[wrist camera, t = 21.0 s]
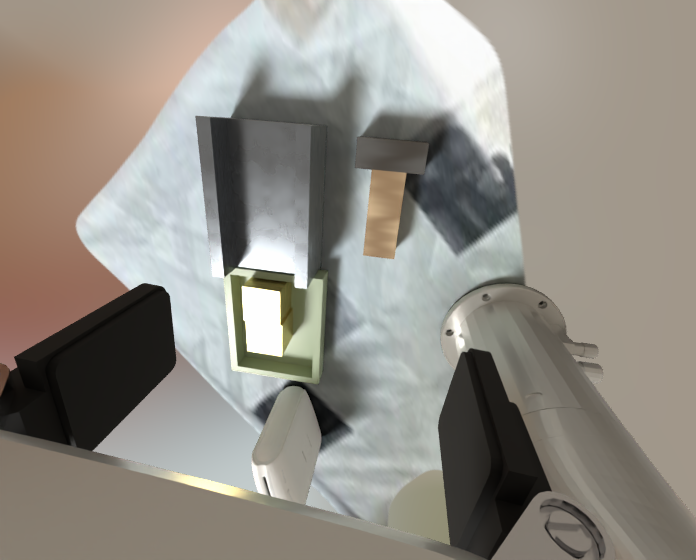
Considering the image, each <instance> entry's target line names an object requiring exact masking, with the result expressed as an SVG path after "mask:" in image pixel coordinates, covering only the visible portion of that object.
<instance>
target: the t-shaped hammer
mask: <svg viewBox="0 0 696 560" xmlns="http://www.w3.org/2000/svg"><path fill="white" fill-rule="evenodd" d="M428 147H429V143H428V142H421V141H410V140H398V139H387V138H375V137H364V136H360V137H357V149H356V161H355V168H361V169H371V170H372V174H371V184H370V194H369V204H368V213H367V223H366V233H365V243H364V253H363V255H365V256H373V257H381V258H389V259H394V257H395V250H396V243H397V236H398V229H399V222H400V215H401V208H402V201H403V194H404V187H405V180H406V173H412V174H422V175H424V172H425V166H426V160H427V153H428Z"/></svg>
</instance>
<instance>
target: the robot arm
mask: <svg viewBox="0 0 696 560" xmlns="http://www.w3.org/2000/svg"><path fill="white" fill-rule="evenodd" d="M484 294H486V295H485V296H483V295H484ZM539 302H540V303H539ZM449 329H450V330H449ZM440 339H441V346H442V350H443V353H444V356H445V358H446V360H447V361H448V363H449V364H450V365H451V367H452V368H453V369H454V370H455V372H454V375H453V378H452V381H451V384H450V387H449V390H448V393H447V396H446V399H445V402H444V405H443V408H442V411H441V414H440V418H439V424H438V431H439V440H440V450H441V460H442V469H443V479H444V489H445V498H446V507H447V518H448V527H449V537H450V545H451V546H450V545H447V544H444V543H441V542H438V541H435V540H432V539H429V538H426V537H422V536H418V535H415V534H411V533H408V532H404V531H400V530H397V529H393V528H390V527H386V526H382V525H379V524H375V523H372V522H368V521H364V520H361V519H357V518H353V517H349V516H346V515H342V514H338V513H334V512H330V511H326V510H322V509H318V508H315V507H311V506H307V505H303V504H299V503H295V502H291V501H288V500H284V499H280V498H276V497H272V496H268V495H264V494H260V493H257V492H253V491H248V490H245V489H241V488H237V487H233V486H229V485H225V484H221V483H217V482H213V481H209V480H205V479H201V478H197V477H193V476H189V475H185V474H181V473H177V472H174V471H169V470H166V469H162V468H158V467H153V466H150V465H145V464H142V463H138V462H134V461H130V460H125V459H121V458H117V457H113V456H109V455H105V454H101V453H97V452H93V450H94V449H95V448H96V447H97V446H98V444H100V442H102V441H103V440H104V438H106V436H108V435H109V434H110V432H111V431H112V430H113V429H114V428H115V427H116V426H117V425H118V424H119V423H120V422H121V421H122V420H123V419H124V418H125V417H126V416H127V415H128V414H129V413H130V412H131V411H132V410H133V409H134V408H135V407H136V406H137V405H138V404H139V403H140V402H141V401H142V400H143V399H144V398H145V397H146V396H147V395H148V394H149V393H150V392H151V391H152V390H153V389H154V388H155V387H156V386H157V385H158V384H159V383H160V382H161V381H162V380H163V379H164V378H165V377H166V376H167V375H168V374H169V373H170V372H171V371H172V369H173V368H174V366H175V364H176V352H175V342H174V332H173V323H172V313H171V303H170V296H169V294H168V293H167V292H166V290H165V289H164V288H163V287H162V286H157V285H152V284H147V283H143V284H141V285H139V286H137V287H135V288H134V289H132V290H130V291H129V292H127V293H125V294H123V295H122V296H120V297H118V298H116V299H115V300H113V301H111V302H109V303H108V304H106V305H104V306H102V307H101V308H99V309H97V310H95V311H94V312H92V313H90V314H88V315H87V316H85V317H83V318H81V319H80V320H78V321H76V322H74V323H73V324H71V325H69V326H67V327H66V328H64V329H62V330H60V331H59V332H57V333H55V334H53V335H52V336H50V337H48V338H46V339H45V340H43V341H41V342H40V343H38V344H36V345H34V346H32V347H31V348H29V349H27V350H25V351H24V352H22V353H20V354H19V355H17V356H15V357H14V358H15V361H16V364H17V368H15V369H14V370H12V371H10V369H9V368H8V367H7V366H6V365H4V364H2V363H0V560H696V517H695V516H694V515H693V514H692V513H691V511H690V510H689V509H688V508H687V506H686V505H685V504H684V503H683V501H682V500H681V499H680V498H679V497H678V495H677V494H676V493H675V492H674V490H673V489H672V488H671V486H670V485H669V484H668V483H667V481H666V480H665V479H664V478H663V476H662V475H661V474H660V472H659V471H658V470H657V469H656V467H655V466H654V465H653V464H652V462H651V461H650V460H649V458H648V457H647V456H646V454H645V453H644V451H643V450H642V449H641V447H640V446H639V445H638V443H637V442H636V441H635V439H634V438H633V437H632V435H631V434H630V433H629V432H628V431H627V430H626V428H625V427H624V426H623V424H622V423H621V421H620V420H619V419H618V417H617V416H616V415H615V413H614V412H613V411H612V409H611V408H610V406H609V405H608V404H607V402H606V401H605V400H604V398H603V397H602V396H601V394H600V393H599V392H598V390H597V389H596V387H595V386H594V385H593V384H592V382H593V383H600V382H601V381H602V379H603V369H602V367H601V366H600V365H599V364H594V363H587V362H581V361H579V362H576V360H575V359H574V358H573V356H572V355H577V356H580V357H586V358H596V357H597V356H598V347H597V346H596V345H594V344H587V343H575V342H573V341H572V340H571V339H569V337H568V336H567V335H566V325H565V321H564V318H563V316H562V314H561V312H560V311H559V309H558V308H557V306H556V305H555V304H554V303H553V302H552V301H551V300H550V299H549V298H548V297H547V296H545V295H544V294H543V293H541V292H539V291H537V290H535V289H533V288H530V287H527V286H524V285H518V284H510V283H507V284H494V285H489V286H485V287H482V288H479V289H477V290H474V291H472V292H470V293H469V294H467V295H465V296H463V297H462V298H461V299H460V300H459V301H457V302H456V303H455V304H454V305H453V307H452V308H451V309H450V310H449V311H448V313H447V315H446V317H445V319H444V320H443V324H442V327H441V337H440Z"/></svg>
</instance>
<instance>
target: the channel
mask: <svg viewBox="0 0 696 560" xmlns="http://www.w3.org/2000/svg"><path fill="white" fill-rule="evenodd" d="M196 125H197V135H198V144H199V154H200V163H201V173H202V182H203V192H204V201H205V211H206V220H207V230H208V239H209V249H210V258H211V268H212V276H214V277H222V278H225V277H226V276H227V275H228V274H229V273H231V272H232V271H233V270H234V269H235V268H237V267H238V266H239V267H247V268H255V269H262V270H270V271H278V272H286V273H293V274H295V287H296V288H304V289H307V288H308V286H309V285H310V283H311V281H312V280H313V278H314V276H315V275H316V273H317V271H318V270H319V268H320V266H321V255H322V232H323V208H324V185H325V161H326V138H327V126H324V125H312V124H300V123H288V122H275V121H263V120H251V119H239V118H225V117H207V116H196Z"/></svg>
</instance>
